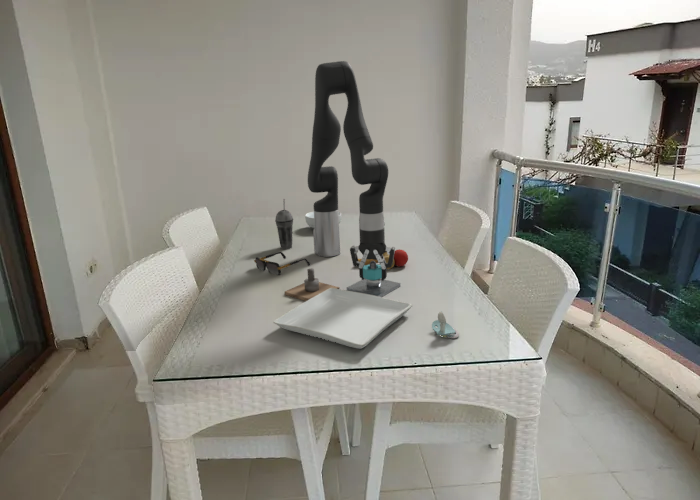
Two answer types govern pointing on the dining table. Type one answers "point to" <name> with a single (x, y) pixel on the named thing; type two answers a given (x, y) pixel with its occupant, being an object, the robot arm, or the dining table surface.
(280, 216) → the beverage cup
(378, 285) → the hub
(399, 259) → the kendama
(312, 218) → the cereal bowl
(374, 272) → the ring
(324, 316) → the square plate
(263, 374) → the dining table surface
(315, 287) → the rod stand
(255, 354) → the dining table surface
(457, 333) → the pacifier
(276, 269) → the sunglasses
